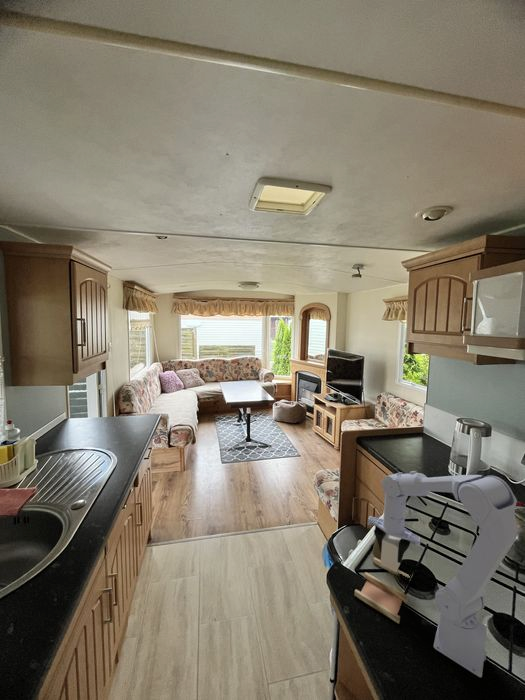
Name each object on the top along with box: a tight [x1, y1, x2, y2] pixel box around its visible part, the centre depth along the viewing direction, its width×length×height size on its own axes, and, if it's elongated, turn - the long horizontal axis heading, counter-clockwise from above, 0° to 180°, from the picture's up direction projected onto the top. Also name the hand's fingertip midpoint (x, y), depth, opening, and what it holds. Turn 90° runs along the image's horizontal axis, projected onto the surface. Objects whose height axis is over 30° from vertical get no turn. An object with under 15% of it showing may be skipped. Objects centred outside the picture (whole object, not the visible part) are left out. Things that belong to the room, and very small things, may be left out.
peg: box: [381, 533, 401, 572], centre depth 89 cm, size 4×4×8 cm
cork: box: [372, 537, 381, 560], centre depth 100 cm, size 6×6×11 cm
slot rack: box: [353, 556, 411, 625], centre depth 87 cm, size 12×16×2 cm
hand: (391, 556), depth 89 cm, fingers closed on peg, 4 cm apart
